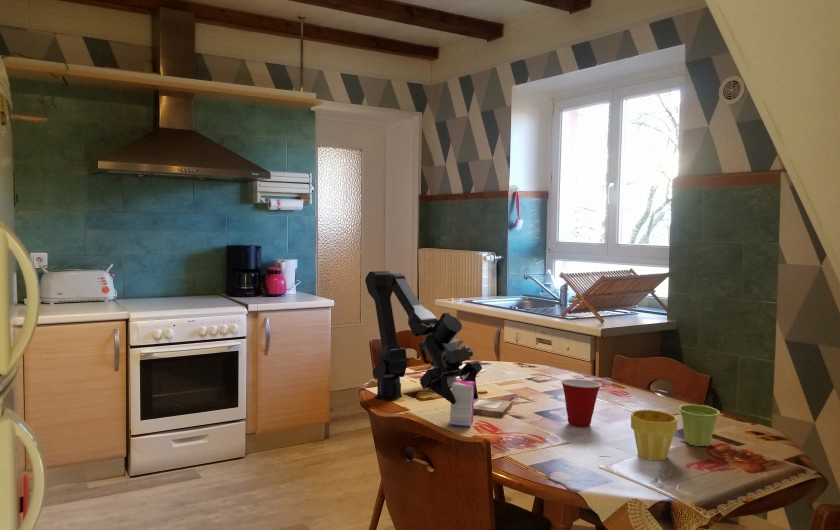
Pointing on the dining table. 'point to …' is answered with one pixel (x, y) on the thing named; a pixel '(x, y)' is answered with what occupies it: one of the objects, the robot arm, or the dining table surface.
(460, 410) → the supplement box
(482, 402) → the base board
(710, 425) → the plant pot
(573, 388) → the plastic cup
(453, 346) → the coffeepot
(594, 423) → the dining table surface
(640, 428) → the plant pot
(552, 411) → the dining table surface
